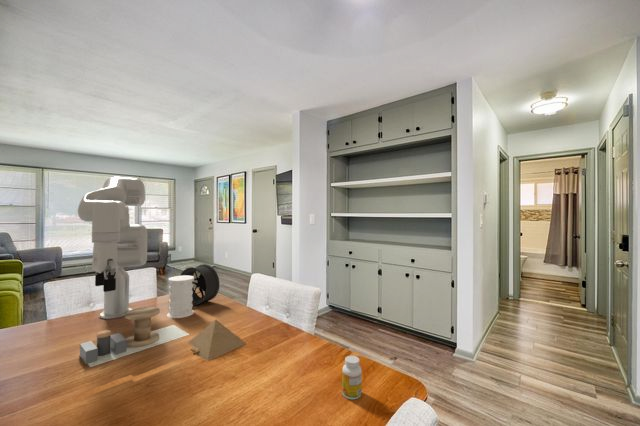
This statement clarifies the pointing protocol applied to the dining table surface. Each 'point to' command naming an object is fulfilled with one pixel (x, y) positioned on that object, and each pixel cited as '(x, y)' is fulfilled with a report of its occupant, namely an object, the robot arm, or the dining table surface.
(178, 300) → the decorative container
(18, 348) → the dining table surface
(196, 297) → the wheel rim
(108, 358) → the base board
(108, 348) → the plug
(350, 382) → the supplement bottle
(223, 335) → the model pyramid
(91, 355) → the terminal block
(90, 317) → the dining table surface
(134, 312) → the bobbin
